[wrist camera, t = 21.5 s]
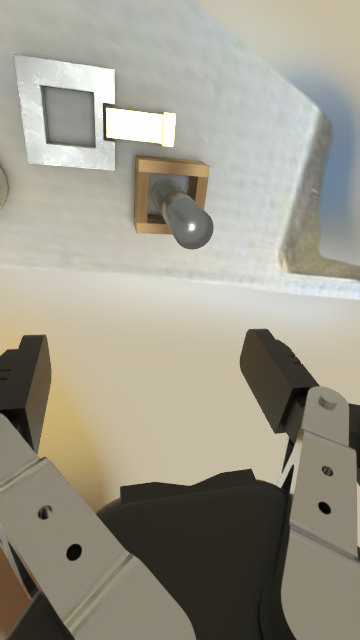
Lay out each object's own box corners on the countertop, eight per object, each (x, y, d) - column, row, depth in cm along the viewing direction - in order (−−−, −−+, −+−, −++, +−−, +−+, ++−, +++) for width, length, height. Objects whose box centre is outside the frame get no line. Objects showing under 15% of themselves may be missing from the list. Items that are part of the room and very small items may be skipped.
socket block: (32, 160, 36) (28, 163, 34) (19, 57, 31) (13, 54, 29) (114, 167, 38) (114, 170, 36) (113, 72, 33) (114, 69, 31)
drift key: (106, 137, 36) (106, 140, 33) (105, 105, 34) (106, 105, 31) (167, 144, 37) (173, 146, 34) (169, 113, 36) (175, 114, 33)
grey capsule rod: (151, 207, 41) (172, 248, 29) (152, 177, 39) (176, 207, 27) (178, 209, 42) (210, 249, 30) (181, 180, 40) (216, 210, 28)
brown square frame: (133, 223, 42) (136, 232, 38) (135, 155, 38) (139, 159, 34) (192, 226, 44) (200, 235, 40) (200, 161, 39) (209, 165, 36)
